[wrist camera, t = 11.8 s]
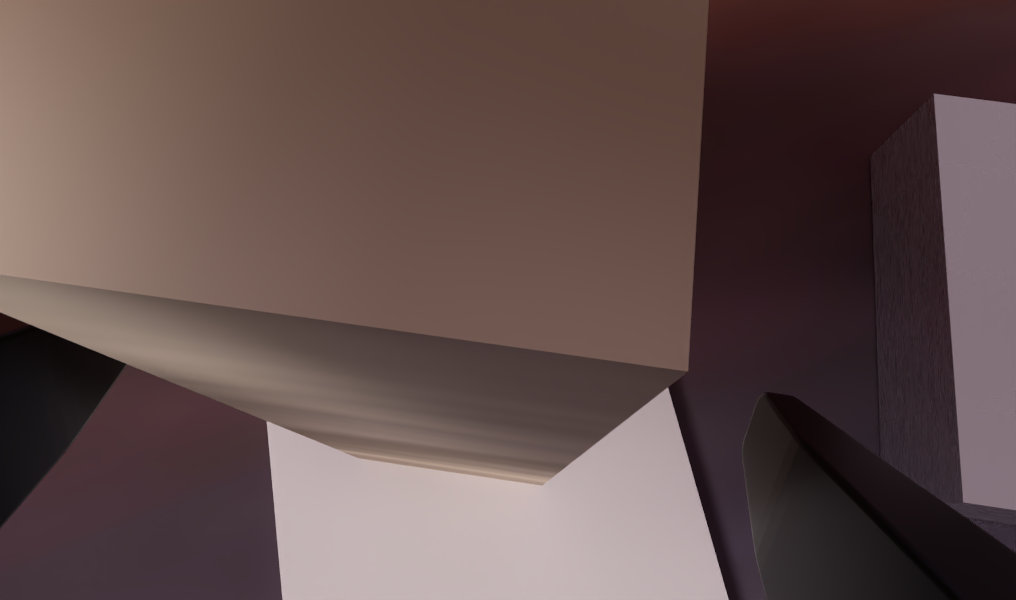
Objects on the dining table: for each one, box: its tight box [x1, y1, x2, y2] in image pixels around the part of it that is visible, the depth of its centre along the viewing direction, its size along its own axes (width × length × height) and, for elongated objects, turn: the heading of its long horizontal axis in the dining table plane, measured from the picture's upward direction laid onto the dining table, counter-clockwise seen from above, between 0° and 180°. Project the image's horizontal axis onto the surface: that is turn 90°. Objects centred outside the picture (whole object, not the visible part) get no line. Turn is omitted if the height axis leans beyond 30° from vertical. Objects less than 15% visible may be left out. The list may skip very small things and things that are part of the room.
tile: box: [267, 388, 729, 600], centre depth 17 cm, size 14×10×1 cm
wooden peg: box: [0, 0, 709, 486], centre depth 10 cm, size 4×4×13 cm
